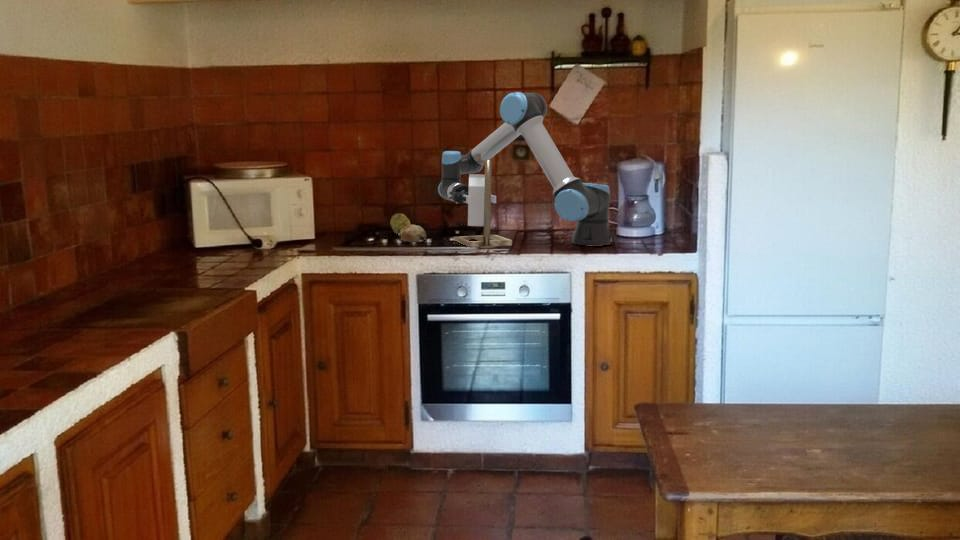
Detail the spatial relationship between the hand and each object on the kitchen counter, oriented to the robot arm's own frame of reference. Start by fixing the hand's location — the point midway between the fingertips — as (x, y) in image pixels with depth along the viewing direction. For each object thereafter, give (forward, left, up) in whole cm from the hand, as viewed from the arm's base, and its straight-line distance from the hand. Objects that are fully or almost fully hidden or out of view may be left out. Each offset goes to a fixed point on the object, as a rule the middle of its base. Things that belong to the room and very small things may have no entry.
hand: (483, 200), depth 340 cm
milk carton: (0, -5, -10) cm, 11 cm away
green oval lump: (+20, -35, -17) cm, 44 cm away
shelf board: (-2, -4, -17) cm, 18 cm away
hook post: (0, 0, -17) cm, 17 cm away
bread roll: (+21, -20, -17) cm, 34 cm away
